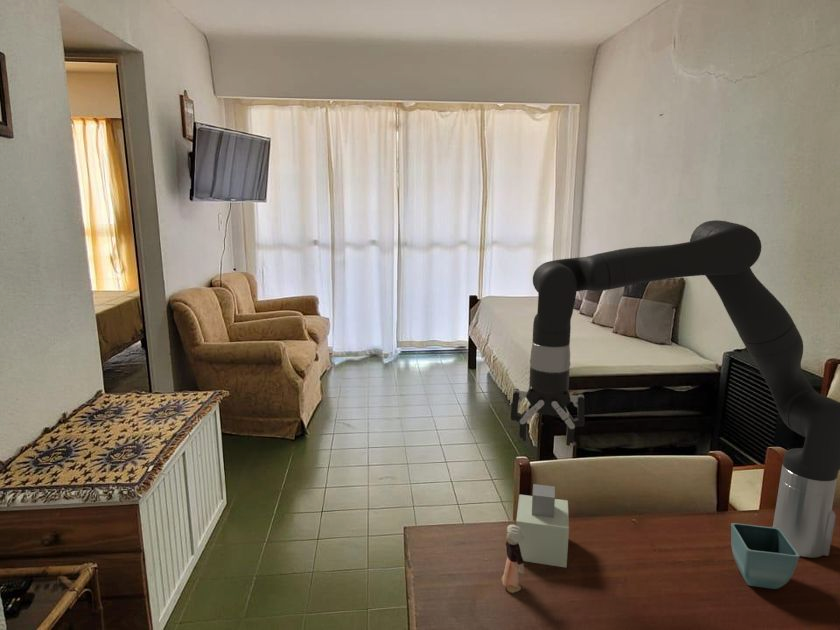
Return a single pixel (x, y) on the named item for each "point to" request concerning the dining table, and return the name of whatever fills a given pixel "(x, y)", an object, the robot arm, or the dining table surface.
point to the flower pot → (763, 555)
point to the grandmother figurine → (513, 559)
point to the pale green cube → (543, 527)
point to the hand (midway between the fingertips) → (545, 441)
